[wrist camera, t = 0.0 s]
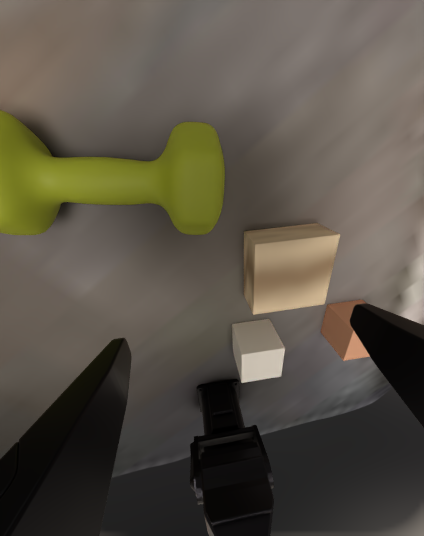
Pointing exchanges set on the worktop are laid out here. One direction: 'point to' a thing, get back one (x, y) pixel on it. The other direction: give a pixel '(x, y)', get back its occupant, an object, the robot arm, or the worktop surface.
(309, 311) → the worktop surface
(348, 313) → the terracotta cube
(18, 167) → the dumbbell
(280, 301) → the oak base block
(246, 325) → the offwhite cube
